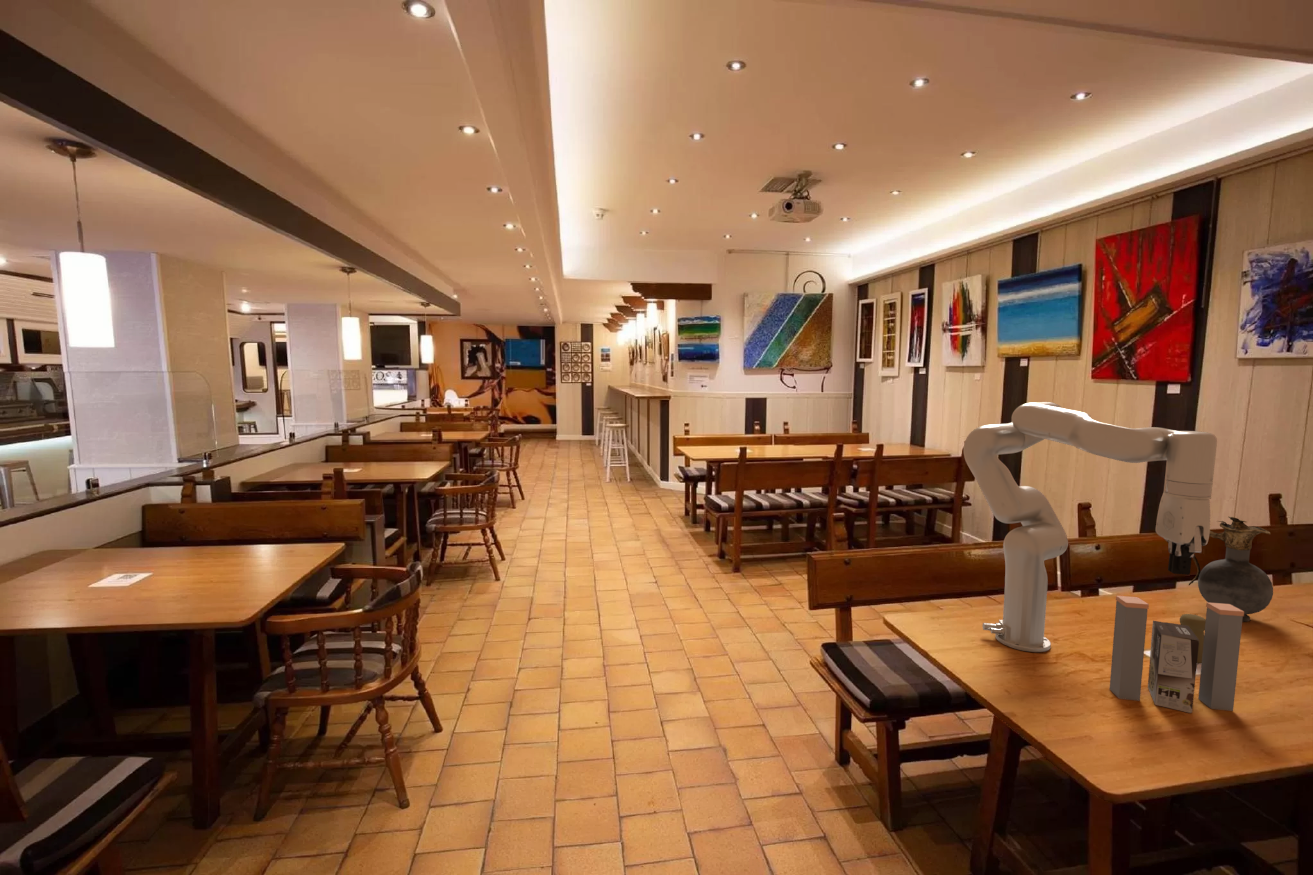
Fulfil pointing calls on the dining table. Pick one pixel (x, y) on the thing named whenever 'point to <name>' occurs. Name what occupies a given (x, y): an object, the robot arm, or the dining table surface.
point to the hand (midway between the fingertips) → (1178, 572)
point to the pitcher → (1235, 572)
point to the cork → (1195, 629)
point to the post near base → (1128, 647)
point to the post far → (1220, 655)
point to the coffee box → (1173, 665)
